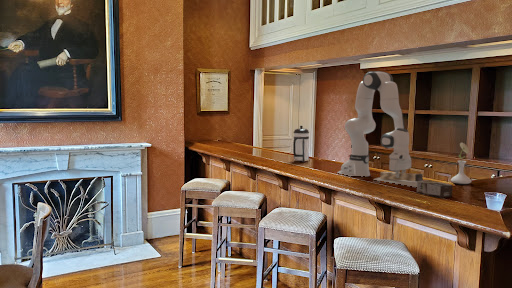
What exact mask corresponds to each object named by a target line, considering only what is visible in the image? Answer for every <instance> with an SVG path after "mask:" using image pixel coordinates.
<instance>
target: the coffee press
mask: <svg viewBox="0 0 512 288" xmlns="http://www.w3.org/2000/svg"><path fill="white" fill-rule="evenodd" d="M309 133H310V131H309V130H308V129H307V128H304V127H303V125H300V126H299V128H295V129H294V131H293V142H292V143H293V144H292V145H293V148H292V150H293V151H292V153H293V159H292V162H293V161H294V162H295V161H299V162H300V161H301V162H302V164H304V163H305V162H306V161H308V162H311V160H310V158H309V157H310V156H309V154H310V153H309V151H310V149H309V147H310V143H309V142H310V140H309V139H310V136H309Z"/></svg>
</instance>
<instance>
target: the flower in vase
mask: <svg viewBox="0 0 512 288" xmlns="http://www.w3.org/2000/svg"><path fill="white" fill-rule="evenodd" d="M459 147H460V148H461V151H460V154H458V158H460V160H457V162H458V165H459V171H458V174H456V175H455V176H452V177H451V179H450V181H451V182H452V183H454V184H456V185H457V184H458V185H469V184H471V183H472V179H471V178H470V177H468V176H467V175H466V174H465V172H464V171H465V170H464V169H465V164H466V163H467V160H462V159H464V158H465V157H466V155H463V157H462V152H464V153H466V154H467V155H468V154H470V149H469V147H468V145H466V144H465V142H464V143H463V142H460V143H459Z"/></svg>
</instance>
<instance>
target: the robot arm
mask: <svg viewBox="0 0 512 288" xmlns="http://www.w3.org/2000/svg"><path fill="white" fill-rule="evenodd" d="M376 91H378V92H379V96H380V97H379V99H380V100H379V103H380V104H379V105H380V108H381V110H382V111H383V112H384V114H385V113H386V114H387V115H389V116H390V117H391V118H392V119H393V125H394V130H392V131H390V132H386V133H384V134H382V136H381V138H380V143H381V144H380V145H381V146H382V147H383V148H385V149H393V151H392V152H391V153H390V154H389V155H388V158H389V163H388V164H389V167H388V168H389V172H395V173H396V177H397V178H399V177H400V175H399V173H400V171H401V173H407V170H409V169H411V168H412V158H411V155H410V148H409V144H410V133H409V130H408V129H406V128H405V127H406V126H405V121H404V119H405V118H404V113H403V110H402V108H401V106H400V98H399V89H398V85H397V83H396V82H394V78H393V76H392V74H390V73H389V72H386V71H368V72H367V73H365V74H364V76H363V78H362V81H361V82H359V84H358V87H357V91H356V97H355V102H354V110H355V111H356V112H357V117H354V118H350V119H348V120H347V121H345V123H344V129H345V132H346V133H347V134H348V135H349V138H350V143H351V154H349V155H348V156H347V157H348V158H349V159H347V161H345V162H344V163H343V164H342V165H341V167H340V170H338V171H337V174H338V173H339V174H338V175H342V174H344V175H343V176H346V175H348V176H347V177H351V176H361V178H362V177H363V176H365V177H370V176H371V173H370V167H369V161H370V155H369V142H368V141H367V139H366V138H365V135H367V134H370V133H372V132H374V131H375V129H376V126H377V124H376V122H375V120H374V118H373V111H372V109H373V102H374V97H375V96H374V95H375V92H376ZM363 178H364V177H363Z"/></svg>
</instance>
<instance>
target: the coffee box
mask: <svg viewBox="0 0 512 288" xmlns="http://www.w3.org/2000/svg"><path fill="white" fill-rule="evenodd" d="M416 192H417V193H420V194H423V195H428V196H430V195H431V197H434V196H435V197H434V198H437V199H444V197H445V198H451V196H452V197H453V184H449V183H446V182H440V181H435V180H430V179H424V180H423V181H417V188H416Z"/></svg>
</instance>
